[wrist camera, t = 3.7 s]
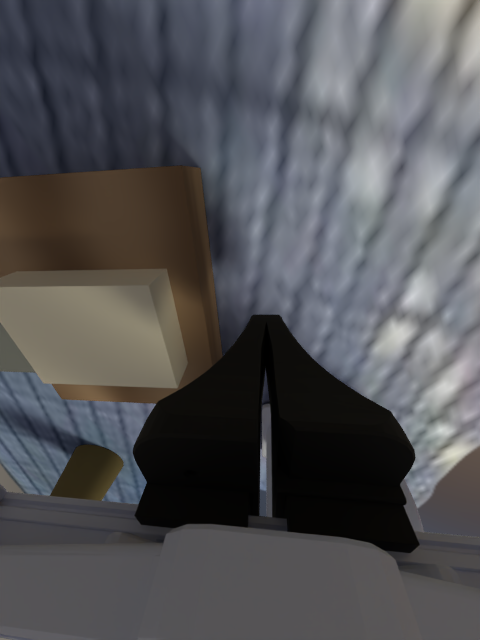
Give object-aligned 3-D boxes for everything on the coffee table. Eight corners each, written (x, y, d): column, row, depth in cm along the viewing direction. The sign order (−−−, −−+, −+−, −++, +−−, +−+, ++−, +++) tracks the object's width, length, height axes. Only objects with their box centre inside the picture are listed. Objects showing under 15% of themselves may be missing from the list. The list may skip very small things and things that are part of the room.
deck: (200, 167, 11) (181, 165, 9) (224, 375, 19) (218, 406, 16) (-15, 182, 12) (-88, 183, 10) (88, 370, 20) (61, 399, 17)
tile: (166, 268, 11) (148, 285, 9) (187, 362, 14) (177, 388, 12) (16, 271, 12) (-25, 287, 10) (68, 359, 15) (43, 383, 13)
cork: (97, 440, 26) (4, 587, 17) (133, 466, 29) (70, 606, 19) (64, 449, 28) (-36, 585, 19) (100, 473, 30) (29, 603, 21)
